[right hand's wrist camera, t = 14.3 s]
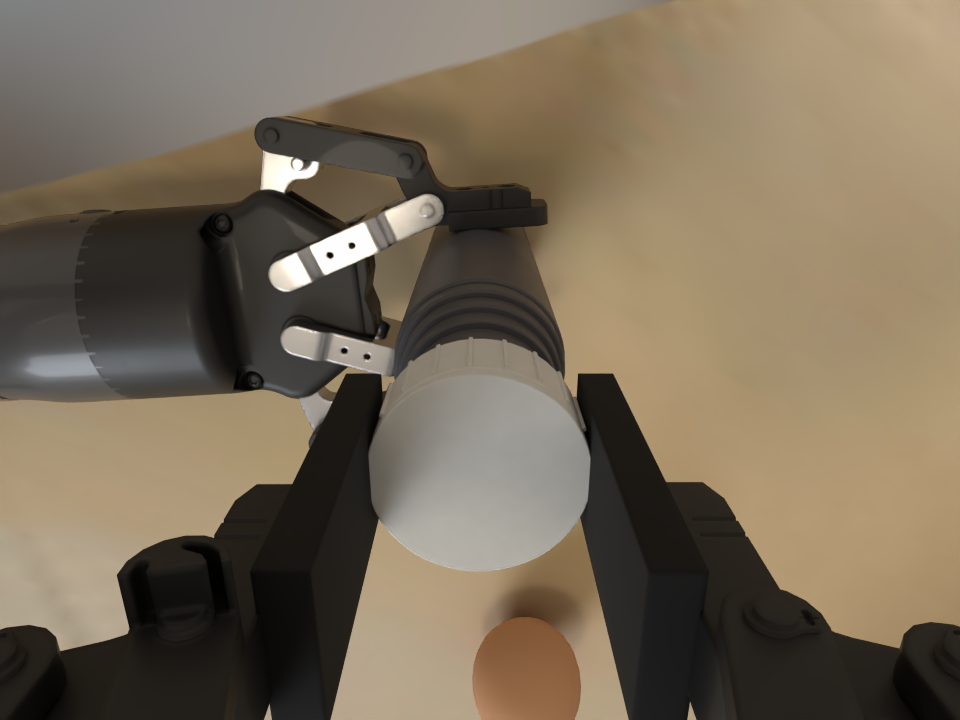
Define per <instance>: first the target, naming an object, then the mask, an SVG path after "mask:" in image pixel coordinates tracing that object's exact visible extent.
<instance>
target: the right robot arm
mask: <svg viewBox="0 0 960 720" xmlns="http://www.w3.org/2000/svg"><path fill="white" fill-rule="evenodd" d="M577 402H578V405H579V408H580V411H581V414H582V417H583V420H584V423H585V426H586V429H587V431H585V432H584V433H585V436H586V439H587V442H588V446H589V450H590V454H591V459H590V475H589V489H588V501H587V504H586V507H585V509H584V511H583V513H582V515H581V516H580V518H581V522H582V527H583V531H584V535H585V539H586V543H587V547H588V552H589V556H590V560H591V564H592V568H593V572H594V577H595V581H596V585H597V589H598V593H599V597H600V602H601V606H602V610H603V614H604V618H605V622H606V627H607V631H608V635H609V639H610V643H611V647H612V652H613V656H614V660H615V664H616V668H617V672H618V677H619V681H620V685H621V689H622V693H623V697H624V702H625V706H626V710H627V714H628V718H629V720H687V717H688V711H689V704H690V702H691V705H692V708H693V711H694V714H695V717H696V719H697V720H960V627H959V626H956V625H951V624H942V623H934V622H929V623H924V624H919V625H914V626H913V627H911V628H910V629H909V630H908V631H907V632H906V633H905V634H904V636H903V639H902V643H901V646H900V649H899V648H895V647H890V646H886V645H881V644H877V643H873V642H868V641H864V640H860V639H855V638H851V637H848V636H845V635H841V634H838V633H835V632H833V631H831V628H830V627H829V625H828V623H827V622H826V620H825V619H824V617H823V616H822V614H821V613H820V612H819V611H818V610H816V609H815V608H814V607H813V606H811V605H810V604H809V603H808V602H807V601H805V600H803V599H801V598H799V597H797V596H795V595H793V594H791V593H789V592H787V591H784V590H780V589H779V587H778V585H777V584H776V582H775V580H774V579H773V577H772V576H771V574H770V572H769V571H768V569H767V567H766V566H765V564H764V563H763V561H762V559H761V558H760V556H759V554H758V553H757V551H756V549H755V548H754V546H753V545H752V543H751V541H750V540H749V538H748V537H746V536H745V532H744V530H743V528H742V527H741V525H740V523H739V522H738V521H736V517H735V515H734V514H733V512H732V510H731V509H730V507H729V506H728V504H727V502H726V501H725V499H724V498H723V497H722V496H720V495H719V494H718V493H716V492H715V491H714V490H712V489H711V488H710V487H708V486H707V485H706V484H704V483H703V482H666V481H665V479H664V477H663V475H662V473H661V471H660V469H659V467H658V465H657V463H656V461H655V459H654V457H653V455H652V453H651V451H650V449H649V446H648V444H647V442H646V440H645V438H644V436H643V434H642V432H641V430H640V428H639V426H638V424H637V422H636V420H635V418H634V416H633V414H632V412H631V410H630V407H629V405H628V403H627V401H626V399H625V397H624V395H623V393H622V391H621V389H620V387H619V385H618V383H617V381H616V379H615V377H614V375H613V374H578V385H577ZM382 404H383V397H382V380H381V374H346V375H345V377H344V379H343V381H342V383H341V385H340V387H339V390H338V392H337V394H336V396H335V398H334V400H333V402H332V404H331V406H330V408H329V410H328V412H327V414H326V416H325V418H324V420H323V422H322V424H321V426H320V429H319V431H318V433H317V435H316V437H315V439H314V441H313V443H312V445H311V447H310V449H309V451H308V453H307V455H306V457H305V459H304V461H303V463H302V465H301V467H300V470H299V472H298V474H297V476H296V478H295V480H294V482H293V484H257V485H255V486H254V487H253V488H251V489H250V490H249V491H247V492H246V493H245V494H243V495H242V496H241V497H239V498H238V499H237V500H235V502H234V504H233V505H232V507H231V509H230V510H229V512H228V513H227V515H226V517H225V518H224V523H221V525H220V527H219V528H218V530H217V532H216V533H215V535H214V538H212V537H208V536H182V537H178V538H173V539H169V540H164V541H162V542H159V543H157V544H155V545H153V546H150V547H148V548H146V549H143V550H142V551H141V552H139V553H138V554H136V555H135V556H134V557H132V558H131V559H130V560H128V561H127V562H126V563H125V565H124V566H123V567H122V569H121V570H120V571H119V573H118V574H117V578H118V582H119V586H120V590H121V595H122V599H123V603H124V607H125V611H126V616H127V620H128V624H129V628H130V629H129V632H128V634H126V635H124V636H120V637H117V638H114V639H111V640H107V641H103V642H99V643H94V644H90V645H86V646H81V647H77V648H73V649H68V650H64V651H60V649H59V646H58V642H57V639H56V637H55V636H54V635H53V634H52V633H51V632H50V631H49V630H48V629H46V628H42V627H37V626H31V625H25V626H16V627H8V628H4V629H1V630H0V720H264V718H265V715H266V712H267V709H268V706H269V703H270V709H271V716H272V720H330V719H331V715H332V711H333V707H334V703H335V699H336V694H337V690H338V686H339V682H340V678H341V674H342V669H343V665H344V661H345V657H346V653H347V649H348V644H349V640H350V636H351V632H352V628H353V624H354V619H355V615H356V611H357V607H358V603H359V599H360V594H361V590H362V586H363V582H364V578H365V574H366V569H367V565H368V561H369V557H370V553H371V549H372V545H373V540H374V536H375V532H376V528H377V524H378V520H379V517H378V515H377V514H376V512H375V510H374V508H373V505H372V500H371V485H370V470H369V454H368V453H369V447H370V444H371V441H372V438H373V434H374V431H375V428H376V425H377V422H378V419H379V413H380V410H381V407H382Z"/></svg>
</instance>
